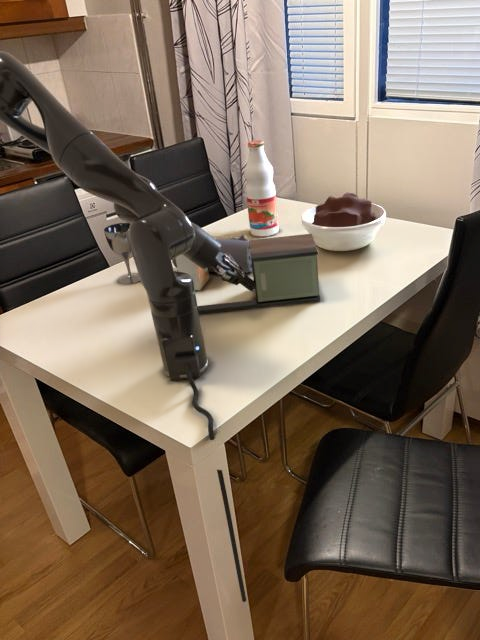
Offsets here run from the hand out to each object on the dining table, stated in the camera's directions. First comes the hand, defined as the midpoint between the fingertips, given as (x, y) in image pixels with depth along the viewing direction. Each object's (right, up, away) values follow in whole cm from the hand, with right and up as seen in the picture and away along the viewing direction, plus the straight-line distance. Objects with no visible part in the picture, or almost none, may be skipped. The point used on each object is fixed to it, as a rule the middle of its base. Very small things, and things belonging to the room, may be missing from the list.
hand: (254, 287), depth 145 cm
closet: (+8, 0, +8) cm, 11 cm away
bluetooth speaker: (-11, +16, +26) cm, 32 cm away
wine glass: (-37, +6, +24) cm, 44 cm away
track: (0, -4, +3) cm, 5 cm away
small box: (-17, +3, +17) cm, 24 cm away
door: (+8, -2, +2) cm, 9 cm away
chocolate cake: (+25, +18, +33) cm, 45 cm away
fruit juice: (+1, +26, +48) cm, 55 cm away
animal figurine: (-4, +21, +37) cm, 42 cm away
